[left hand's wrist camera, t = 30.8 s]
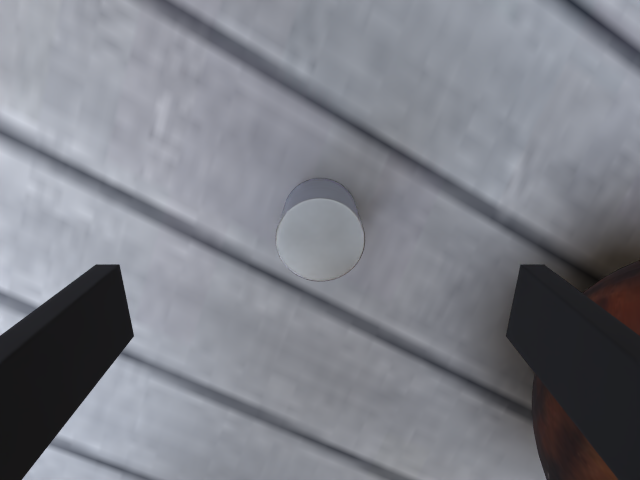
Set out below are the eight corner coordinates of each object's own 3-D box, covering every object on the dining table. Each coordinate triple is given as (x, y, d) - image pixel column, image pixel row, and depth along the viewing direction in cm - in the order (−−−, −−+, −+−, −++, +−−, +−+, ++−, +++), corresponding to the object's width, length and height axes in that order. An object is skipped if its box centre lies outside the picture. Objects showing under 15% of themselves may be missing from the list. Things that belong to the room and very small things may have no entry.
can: (273, 231, 23) (262, 262, 19) (301, 165, 22) (296, 183, 17) (337, 257, 24) (341, 294, 19) (368, 196, 22) (380, 220, 18)
